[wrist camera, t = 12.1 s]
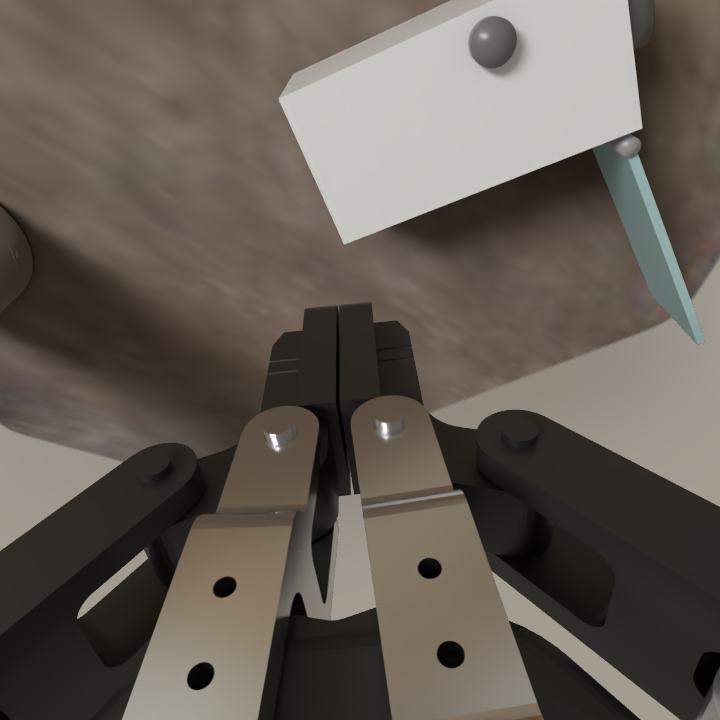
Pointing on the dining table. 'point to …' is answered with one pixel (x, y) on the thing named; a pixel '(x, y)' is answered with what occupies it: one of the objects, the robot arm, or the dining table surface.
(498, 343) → the dining table surface
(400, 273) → the dining table surface
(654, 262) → the door
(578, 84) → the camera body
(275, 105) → the dining table surface
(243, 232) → the dining table surface
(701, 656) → the robot arm
